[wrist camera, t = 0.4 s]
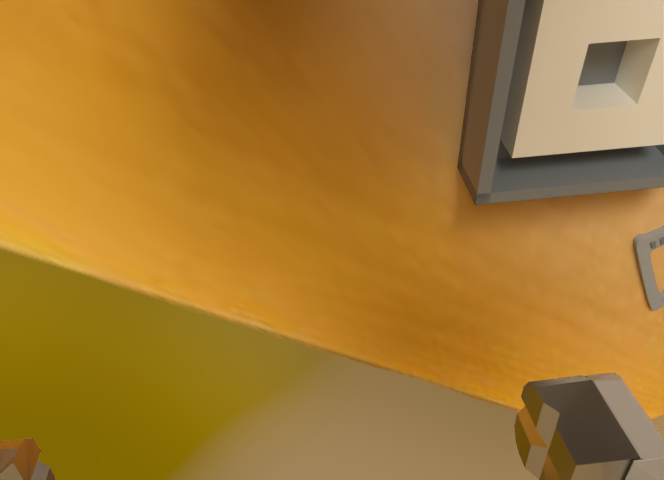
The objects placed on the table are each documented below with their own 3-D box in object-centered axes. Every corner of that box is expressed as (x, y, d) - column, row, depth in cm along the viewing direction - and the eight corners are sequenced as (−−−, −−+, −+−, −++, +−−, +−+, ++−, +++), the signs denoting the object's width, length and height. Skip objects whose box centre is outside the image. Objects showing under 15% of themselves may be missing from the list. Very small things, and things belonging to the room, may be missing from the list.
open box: (490, -88, 41) (519, -67, 36) (757, -107, 42) (817, -88, 37) (457, 167, 56) (475, 204, 51) (656, 149, 57) (690, 184, 52)
